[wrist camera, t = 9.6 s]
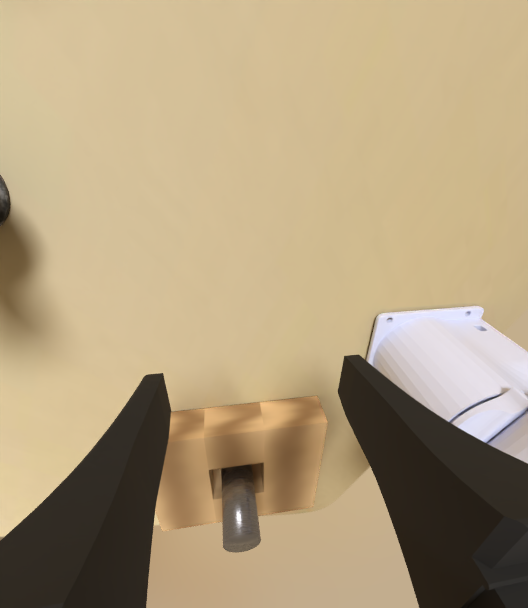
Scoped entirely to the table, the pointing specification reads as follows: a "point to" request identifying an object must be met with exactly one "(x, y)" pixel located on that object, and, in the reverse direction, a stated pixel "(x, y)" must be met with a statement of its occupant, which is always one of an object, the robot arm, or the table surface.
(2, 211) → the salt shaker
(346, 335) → the table surface
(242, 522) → the metal peg
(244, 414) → the oak hole block
